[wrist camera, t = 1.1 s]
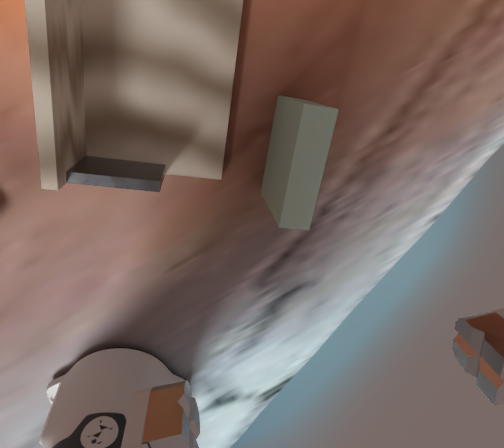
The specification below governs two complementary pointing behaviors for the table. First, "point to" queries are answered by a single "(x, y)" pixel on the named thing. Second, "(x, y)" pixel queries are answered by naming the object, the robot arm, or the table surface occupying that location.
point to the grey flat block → (297, 160)
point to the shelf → (131, 89)
